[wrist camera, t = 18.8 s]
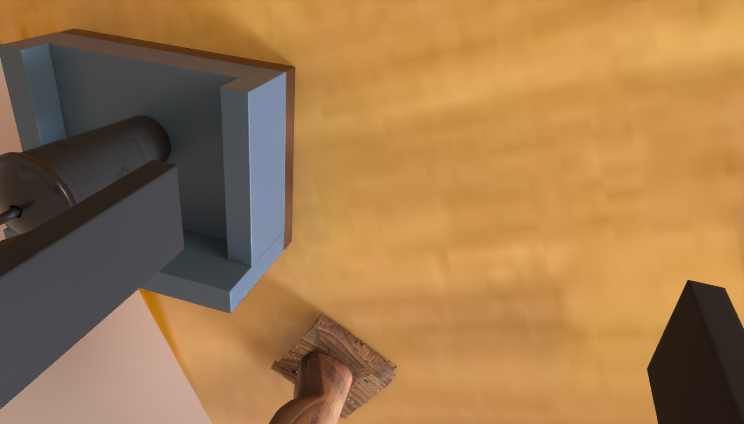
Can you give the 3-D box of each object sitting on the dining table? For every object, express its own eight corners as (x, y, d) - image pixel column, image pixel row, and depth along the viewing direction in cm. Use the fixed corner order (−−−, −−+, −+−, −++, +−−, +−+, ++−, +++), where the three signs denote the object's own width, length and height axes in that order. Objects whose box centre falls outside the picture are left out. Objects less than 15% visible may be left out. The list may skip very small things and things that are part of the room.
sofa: (74, 28, 55) (-47, 54, 44) (295, 66, 50) (221, 106, 39) (102, 195, 64) (8, 251, 53) (291, 241, 59) (231, 314, 48)
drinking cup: (127, 177, 54) (-70, 294, 37) (102, 101, 50) (-127, 191, 34) (193, 179, 52) (16, 304, 35) (172, 99, 48) (-36, 194, 31)
